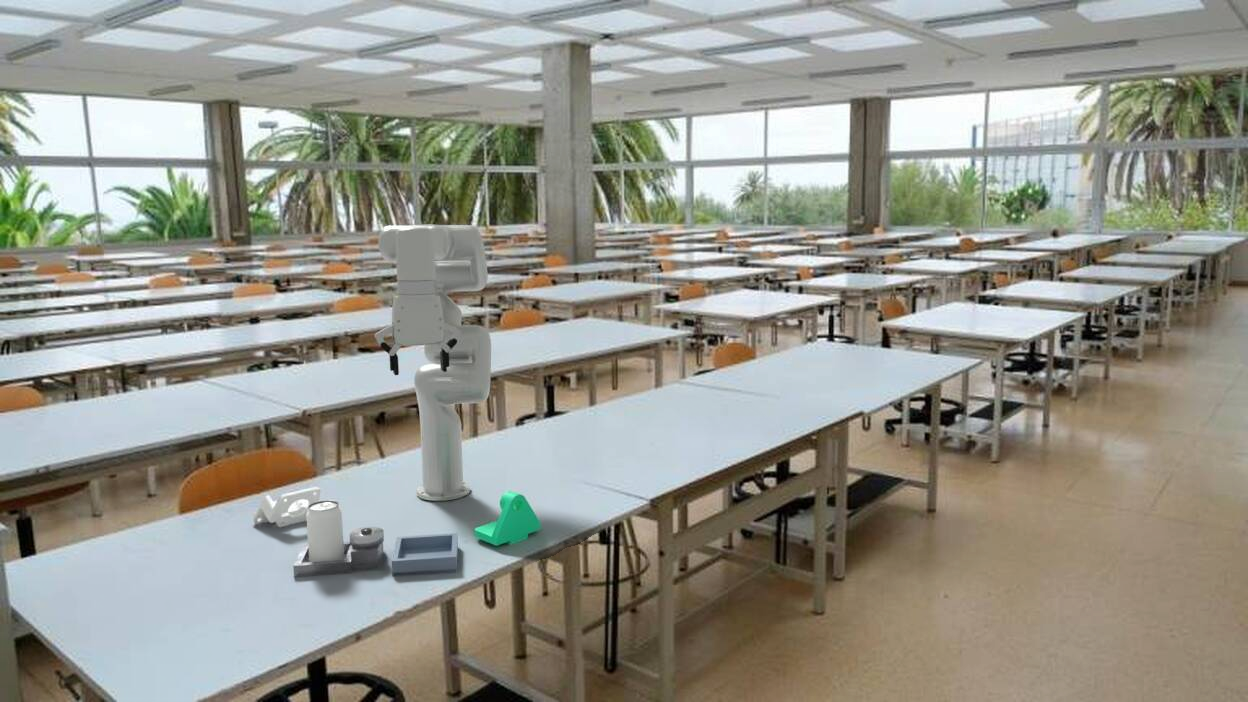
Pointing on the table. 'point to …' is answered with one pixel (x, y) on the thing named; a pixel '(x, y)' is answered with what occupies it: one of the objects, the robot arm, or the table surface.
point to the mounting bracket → (286, 507)
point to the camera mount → (510, 521)
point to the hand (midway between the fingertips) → (420, 372)
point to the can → (325, 531)
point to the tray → (425, 554)
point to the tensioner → (360, 555)
